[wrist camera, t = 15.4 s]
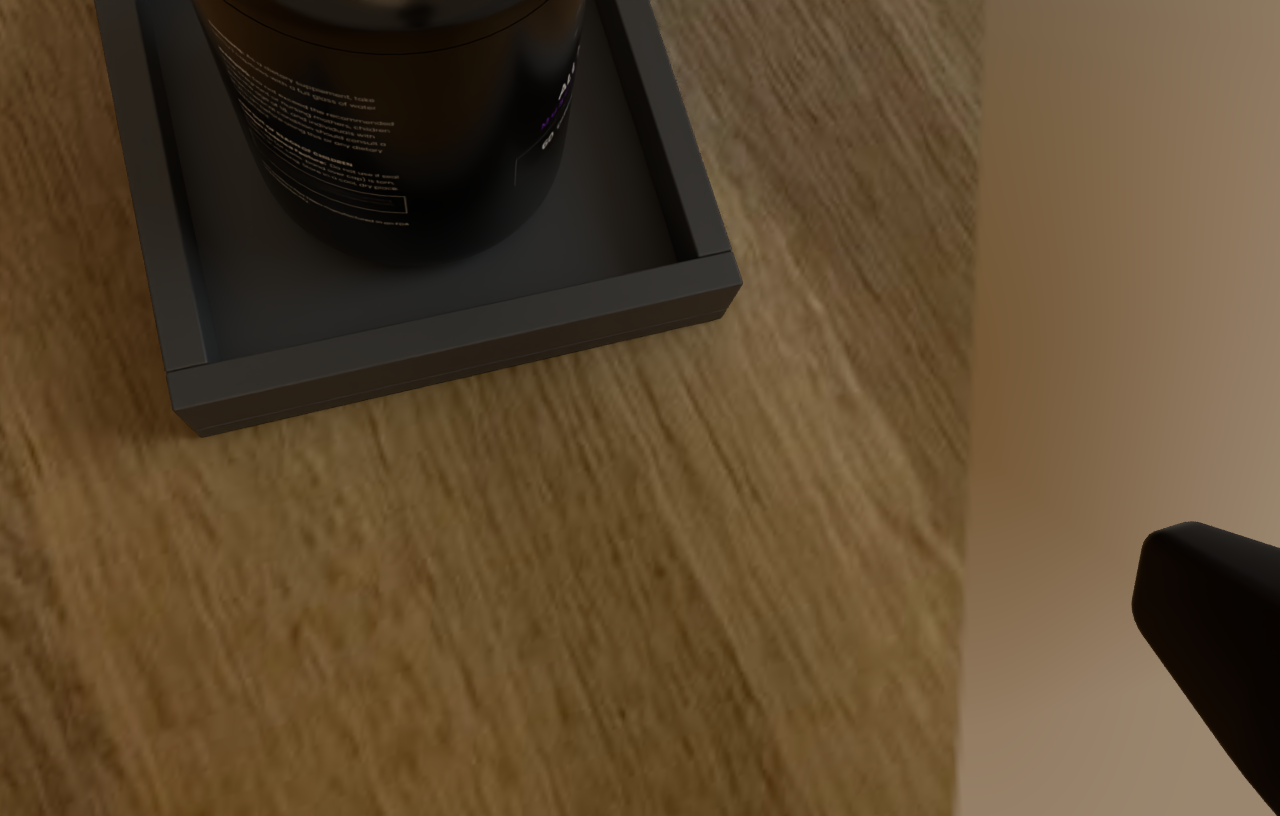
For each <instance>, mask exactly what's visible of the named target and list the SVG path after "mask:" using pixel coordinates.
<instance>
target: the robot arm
mask: <svg viewBox="0 0 1280 816" xmlns="http://www.w3.org/2000/svg"><path fill="white" fill-rule="evenodd" d="M1132 613H1133V616H1134V620H1135V622H1136V624H1137V627H1138V629H1139V630H1140V632H1141V634H1142V635H1143V637H1144V638H1145V639H1146V641H1147V642H1148V644H1149V645H1150V646H1151V648H1152V649H1153V651H1154V652H1155V653H1156V655H1157V656H1158V657H1159V659H1160V660H1161V662H1162V663H1163V664H1164V666H1165V667H1166V669H1167V670H1168V672H1169V673H1170V674H1171V676H1172V677H1173V679H1174V680H1175V681H1176V683H1177V684H1178V686H1179V687H1180V688H1181V690H1182V691H1183V693H1184V694H1185V695H1186V697H1187V698H1188V700H1189V701H1190V702H1191V704H1192V705H1193V707H1194V708H1195V709H1196V711H1197V712H1198V714H1199V715H1200V716H1201V718H1202V719H1203V721H1204V722H1205V724H1206V725H1207V726H1208V728H1209V729H1210V731H1211V732H1212V733H1213V735H1214V736H1215V738H1216V739H1217V740H1218V742H1219V743H1220V745H1221V746H1222V747H1223V749H1224V750H1225V751H1226V753H1227V754H1228V756H1229V757H1230V758H1231V760H1232V761H1233V762H1234V764H1235V765H1236V766H1237V767H1238V769H1239V770H1240V771H1241V773H1242V774H1243V775H1244V777H1245V778H1246V779H1247V780H1248V782H1249V783H1250V784H1251V785H1252V787H1253V788H1254V789H1255V790H1256V791H1257V793H1258V794H1259V795H1260V796H1261V798H1262V799H1263V800H1264V801H1265V802H1266V804H1267V805H1268V806H1269V807H1270V808H1271V809H1272V811H1273V812H1274V813H1275V814H1276V815H1277V816H1280V548H1277V547H1275V546H1272V545H1268V544H1265V543H1262V542H1259V541H1256V540H1253V539H1250V538H1247V537H1244V536H1240V535H1237V534H1234V533H1231V532H1228V531H1225V530H1222V529H1219V528H1215V527H1212V526H1209V525H1206V524H1203V523H1199V522H1183V523H1180V524H1177V525H1173V526H1170V527H1167V528H1164V529H1161V530H1157V531H1154V532H1153V533H1151V534H1149V536H1148V537H1147V538H1146V539H1145V541H1144V542H1143V546H1142V549H1141V555H1140V560H1139V565H1138V570H1137V576H1136V581H1135V586H1134V591H1133V597H1132Z"/></svg>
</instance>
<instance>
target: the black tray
mask: <svg viewBox="0 0 1280 816" xmlns="http://www.w3.org/2000/svg"><path fill="white" fill-rule="evenodd" d="M94 3H95V8H96V13H97V18H98V23H99V29H100V34H101V39H102V44H103V50H104V55H105V60H106V65H107V71H108V76H109V81H110V86H111V91H112V97H113V102H114V107H115V112H116V118H117V123H118V128H119V133H120V139H121V144H122V149H123V154H124V160H125V165H126V170H127V175H128V180H129V186H130V191H131V196H132V201H133V207H134V212H135V217H136V222H137V228H138V233H139V238H140V243H141V249H142V254H143V259H144V264H145V269H146V275H147V280H148V285H149V290H150V296H151V301H152V306H153V311H154V317H155V322H156V327H157V332H158V338H159V343H160V348H161V353H162V358H163V364H164V369H165V371H166V373H167V374H166V379H167V384H168V390H169V395H170V400H171V405H172V410H173V411H174V412H175V413H176V414H177V415H178V416H179V417H180V418H181V419H182V420H183V421H184V422H185V423H186V424H187V425H188V426H189V427H191V428H192V429H193V430H194V431H195V432H196V433H197V434H198V435H199V436H200V437H206V436H211V435H215V434H219V433H224V432H228V431H232V430H237V429H241V428H245V427H250V426H254V425H258V424H263V423H267V422H272V421H276V420H280V419H285V418H289V417H293V416H298V415H302V414H306V413H311V412H315V411H319V410H324V409H328V408H332V407H337V406H341V405H345V404H350V403H354V402H359V401H363V400H367V399H372V398H376V397H380V396H385V395H389V394H393V393H398V392H402V391H406V390H411V389H415V388H419V387H424V386H428V385H433V384H437V383H441V382H446V381H450V380H454V379H459V378H463V377H467V376H472V375H476V374H480V373H485V372H489V371H493V370H498V369H502V368H507V367H511V366H515V365H520V364H524V363H528V362H533V361H537V360H541V359H546V358H550V357H554V356H559V355H563V354H567V353H572V352H576V351H581V350H585V349H589V348H594V347H598V346H602V345H607V344H611V343H615V342H620V341H624V340H628V339H633V338H637V337H641V336H646V335H650V334H654V333H659V332H663V331H668V330H672V329H676V328H681V327H685V326H689V325H694V324H698V323H702V322H707V321H711V320H715V319H720V318H722V316H723V315H724V313H725V312H726V310H727V308H728V307H729V305H730V304H731V302H732V301H733V299H734V297H735V296H736V294H737V293H738V291H739V289H740V288H741V286H742V284H743V281H742V278H741V275H740V272H739V269H738V266H737V263H736V260H735V257H734V254H733V252H732V251H731V249H732V248H731V245H730V242H729V239H728V236H727V233H726V230H725V227H724V224H723V221H722V218H721V215H720V212H719V209H718V206H717V203H716V200H715V197H714V194H713V191H712V188H711V185H710V182H709V179H708V176H707V173H706V170H705V167H704V164H703V161H702V158H701V155H700V152H699V149H698V146H697V143H696V140H695V137H694V134H693V131H692V128H691V125H690V122H689V119H688V116H687V113H686V110H685V107H684V104H683V101H682V98H681V95H680V92H679V89H678V86H677V83H676V80H675V77H674V73H673V70H672V67H671V64H670V61H669V58H668V55H667V52H666V49H665V46H664V43H663V40H662V37H661V34H660V31H659V28H658V25H657V22H656V19H655V16H654V13H653V10H652V7H651V4H650V1H649V0H586V5H585V12H584V19H583V26H582V32H581V39H580V46H579V53H578V60H577V67H576V74H575V80H574V87H573V94H572V101H571V108H570V115H569V121H568V128H567V133H566V139H565V145H564V150H563V155H562V159H561V163H560V166H559V169H558V172H557V175H556V177H555V180H554V183H553V185H552V187H551V189H550V191H549V193H548V194H547V196H546V197H545V199H544V201H543V202H542V204H541V205H540V206H539V208H538V209H537V210H536V211H535V213H534V214H533V215H532V216H531V217H530V218H529V219H528V220H527V221H526V222H525V223H524V224H523V225H522V226H521V227H520V228H519V229H518V230H517V231H515V232H514V233H513V234H512V235H510V236H509V237H508V238H506V239H505V240H503V241H502V242H500V243H499V244H497V245H495V246H493V247H491V248H490V249H488V250H486V251H484V252H481V253H479V254H476V255H474V256H472V257H469V258H466V259H462V260H459V261H456V262H451V263H446V264H442V265H434V266H424V267H403V266H391V265H384V264H378V263H374V262H370V261H365V260H362V259H359V258H356V257H353V256H350V255H347V254H345V253H343V252H341V251H338V250H336V249H334V248H332V247H330V246H329V245H327V244H325V243H323V242H321V241H320V240H319V239H317V238H316V237H314V236H313V235H311V234H310V233H308V232H307V231H306V230H304V229H303V228H302V227H301V226H300V225H299V224H297V223H296V222H295V221H294V220H293V219H292V218H291V217H290V216H289V215H288V214H287V213H286V212H285V211H284V209H283V208H282V207H281V206H280V204H279V203H278V202H277V201H276V199H275V198H274V196H273V195H272V193H271V191H270V190H269V188H268V187H267V185H266V183H265V181H264V179H263V177H262V175H261V173H260V171H259V169H258V167H257V165H256V162H255V160H254V158H253V155H252V153H251V151H250V149H249V146H248V144H247V141H246V139H245V136H244V134H243V131H242V129H241V126H240V124H239V121H238V119H237V116H236V114H235V111H234V109H233V106H232V104H231V101H230V99H229V96H228V94H227V91H226V89H225V86H224V84H223V81H222V79H221V76H220V74H219V71H218V68H217V66H216V63H215V61H214V58H213V56H212V53H211V51H210V48H209V46H208V43H207V41H206V38H205V36H204V33H203V31H202V28H201V26H200V23H199V21H198V18H197V16H196V13H195V11H194V8H193V6H192V3H191V1H190V0H94Z"/></svg>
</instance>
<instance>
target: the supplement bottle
mask: <svg viewBox="0 0 1280 816" xmlns="http://www.w3.org/2000/svg"><path fill="white" fill-rule="evenodd" d="M190 1H191V3H192V6H193V8H194V11H195V13H196V16H197V18H198V21H199V23H200V26H201V28H202V31H203V33H204V36H205V38H206V41H207V43H208V46H209V48H210V51H211V53H212V56H213V58H214V61H215V63H216V66H217V68H218V71H219V74H220V76H221V79H222V81H223V84H224V86H225V89H226V91H227V94H228V96H229V99H230V101H231V104H232V106H233V109H234V111H235V114H236V116H237V119H238V121H239V124H240V126H241V129H242V131H243V134H244V136H245V139H246V141H247V144H248V146H249V149H250V151H251V153H252V155H253V158H254V160H255V162H256V165H257V167H258V169H259V171H260V173H261V175H262V177H263V179H264V181H265V183H266V185H267V187H268V188H269V190H270V191H271V193H272V195H273V196H274V198H275V199H276V201H277V202H278V203H279V204H280V206H281V207H282V208H283V209H284V211H285V212H286V213H287V214H288V215H289V216H290V217H291V218H292V219H293V220H294V221H295V222H296V223H297V224H299V225H300V226H301V227H302V228H303V229H304V230H306V231H307V232H308V233H310V234H311V235H313V236H314V237H316V238H317V239H319V240H320V241H321V242H323V243H325V244H327V245H329V246H330V247H332V248H334V249H336V250H338V251H341V252H343V253H345V254H347V255H350V256H353V257H356V258H359V259H362V260H365V261H370V262H374V263H378V264H384V265H391V266H403V267H424V266H434V265H442V264H446V263H451V262H456V261H459V260H462V259H466V258H469V257H472V256H474V255H476V254H479V253H481V252H484V251H486V250H488V249H490V248H491V247H493V246H495V245H497V244H499V243H500V242H502V241H503V240H505V239H506V238H508V237H509V236H510V235H512V234H513V233H514V232H515V231H517V230H518V229H519V228H520V227H521V226H522V225H523V224H524V223H525V222H526V221H527V220H528V219H529V218H530V217H531V216H532V215H533V214H534V213H535V211H536V210H537V209H538V208H539V206H540V205H541V204H542V202H543V201H544V199H545V197H546V196H547V194H548V193H549V191H550V189H551V187H552V185H553V183H554V180H555V177H556V175H557V172H558V169H559V166H560V163H561V159H562V155H563V150H564V145H565V139H566V133H567V128H568V121H569V115H570V108H571V101H572V94H573V87H574V80H575V74H576V67H577V60H578V53H579V46H580V39H581V32H582V26H583V19H584V12H585V5H586V0H190Z"/></svg>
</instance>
